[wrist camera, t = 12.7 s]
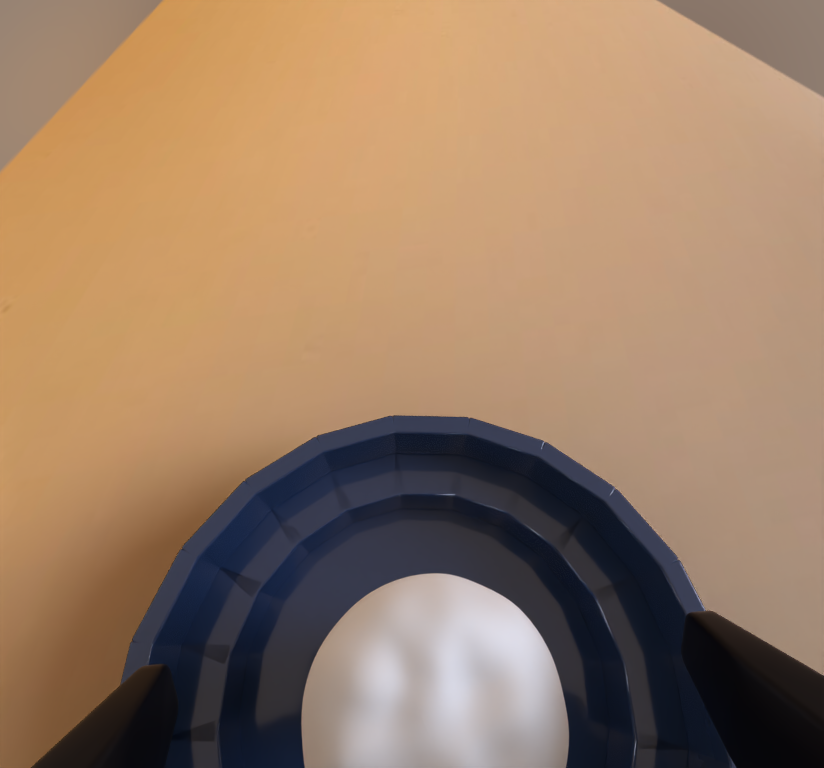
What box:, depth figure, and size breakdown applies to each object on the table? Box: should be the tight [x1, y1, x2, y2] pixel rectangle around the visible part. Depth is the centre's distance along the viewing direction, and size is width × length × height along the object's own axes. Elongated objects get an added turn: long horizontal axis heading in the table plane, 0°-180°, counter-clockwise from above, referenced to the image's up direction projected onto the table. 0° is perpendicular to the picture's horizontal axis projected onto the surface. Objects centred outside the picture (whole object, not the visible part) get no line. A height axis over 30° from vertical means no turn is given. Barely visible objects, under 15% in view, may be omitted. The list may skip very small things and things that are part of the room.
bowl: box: [120, 415, 736, 768], centre depth 14 cm, size 15×15×4 cm
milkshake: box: [301, 573, 569, 768], centre depth 11 cm, size 4×5×10 cm
